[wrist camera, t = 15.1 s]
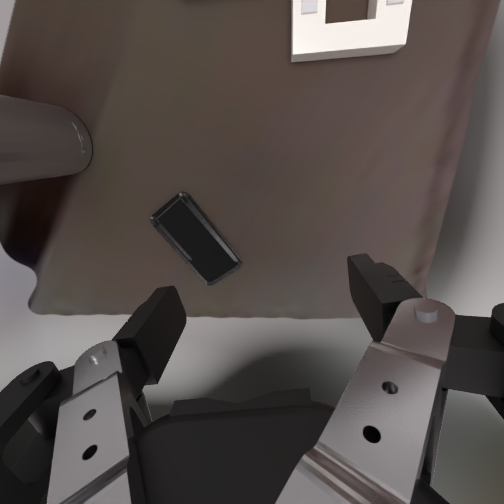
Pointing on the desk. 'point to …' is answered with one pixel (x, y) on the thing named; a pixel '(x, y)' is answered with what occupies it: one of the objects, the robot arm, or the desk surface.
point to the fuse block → (347, 31)
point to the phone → (196, 239)
